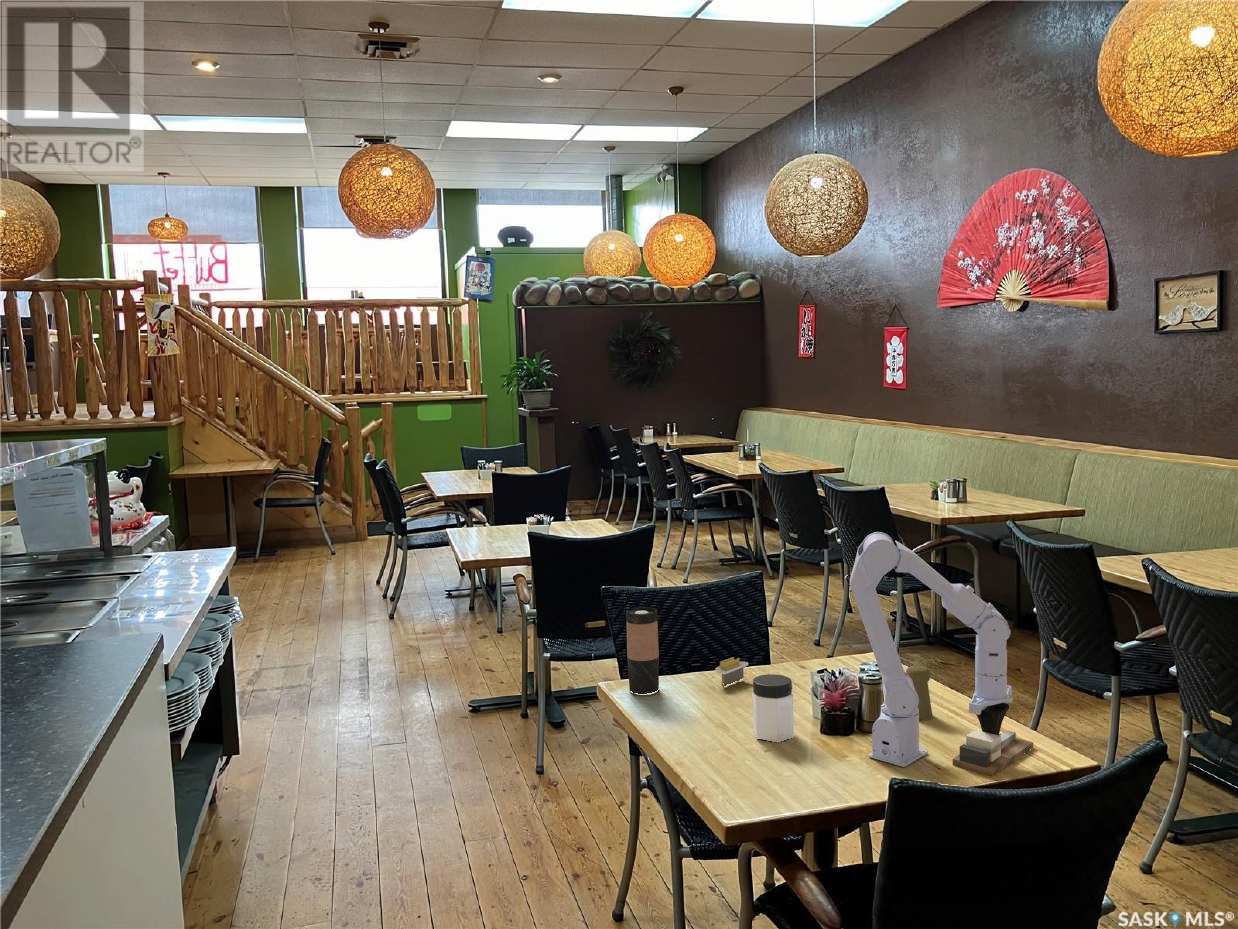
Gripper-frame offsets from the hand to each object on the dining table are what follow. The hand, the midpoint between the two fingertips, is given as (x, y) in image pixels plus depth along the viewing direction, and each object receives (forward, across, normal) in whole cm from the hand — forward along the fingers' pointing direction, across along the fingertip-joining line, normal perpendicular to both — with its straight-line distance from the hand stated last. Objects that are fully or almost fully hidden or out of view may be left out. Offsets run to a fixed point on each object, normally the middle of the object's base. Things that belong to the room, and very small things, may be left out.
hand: (990, 740), depth 186 cm
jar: (+4, -18, +39) cm, 43 cm away
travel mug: (+4, -14, +80) cm, 81 cm away
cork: (+4, +12, +22) cm, 25 cm away
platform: (+4, +3, +67) cm, 67 cm away
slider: (+2, -3, 0) cm, 4 cm away
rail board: (+4, +1, 0) cm, 4 cm away
